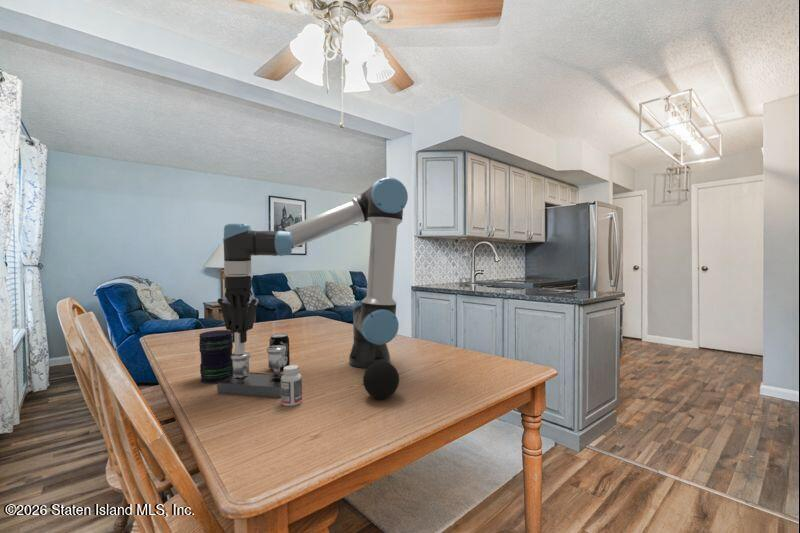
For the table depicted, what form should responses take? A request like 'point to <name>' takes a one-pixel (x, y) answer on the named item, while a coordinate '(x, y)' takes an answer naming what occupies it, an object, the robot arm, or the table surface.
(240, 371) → the knob
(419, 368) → the table surface
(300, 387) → the pill bottle
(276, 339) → the beverage can
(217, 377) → the storage jar
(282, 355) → the knob
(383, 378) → the speaker
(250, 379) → the mount
